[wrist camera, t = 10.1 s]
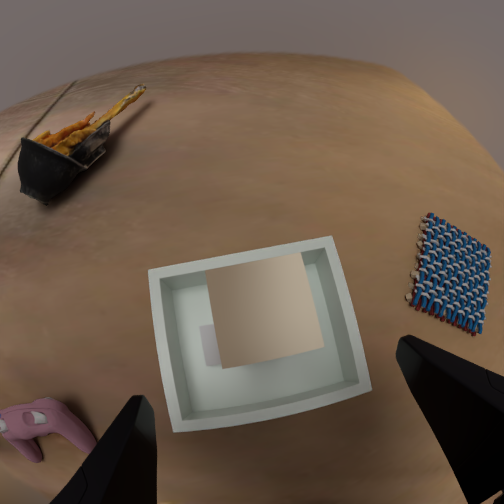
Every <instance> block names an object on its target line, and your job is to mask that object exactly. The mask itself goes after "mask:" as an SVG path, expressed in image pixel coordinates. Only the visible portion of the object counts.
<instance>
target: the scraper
mask: <svg viewBox="0 0 504 504" xmlns="http://www.w3.org/2000/svg"><path fill="white" fill-rule="evenodd" d="M205 275H206V281H207V287H208V293H209V299H210V305H211V311H212V317H213V322H214V324H209V325H203V326H199V330H200V335H201V341H202V347H203V352H204V357H205V363H206V366H212V365H218V364H221V365H222V369H226V368H232V367H238V366H243V365H248V364H253V363H258V362H263V361H268V360H273V359H277V358H282V357H286V356H291V355H295V354H299V353H303V352H307V351H311V350H315V349H319V348H322V347H325V346H324V342H323V337H322V333H321V329H320V325H319V321H318V317H317V313H316V309H315V305H314V301H313V297H312V293H311V289H310V285H309V281H308V278H307V274H306V270H305V266H304V263H303V259H302V255H301V252H299V253H294V254H289V255H284V256H278V257H273V258H268V259H263V260H258V261H252V262H247V263H242V264H237V265H231V266H226V267H221V268H215V269H210V270H205Z"/></svg>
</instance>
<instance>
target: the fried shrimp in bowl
mask: <svg viewBox="0 0 504 504" xmlns="http://www.w3.org/2000/svg"><path fill="white" fill-rule="evenodd" d="M145 90H146V87H145V85H144V84H140V85H138V86H136V87H135V88H134V90H133V91H132V92H130V93H129V94H128V95H127V96H125V97H124V98H123V99H122V100H121V101H119V102H118V103H117V104H116V105H115V106H114V107H113V108H112V109H110V110H109V111H108V112H107V113H106V114H104V115H103V116H102V117H100V118H99V120H96V121H95V122H94V123H93V124H92V125H90V123H89V121H90V119H91V118H92V117H93V116H94V113H95V111H94V112H92V113H91V114H89V115H88V116H87V117H86V118H85V119H84V120H82V121H79V122H77V123H75V124H73V125H70V126H68V127H66V128H63V129H62V130H61V131H60V132H58V133H56V134H51V135H50V131H49V130H48V131H45V132H44V133H42V134H40V135H39V136H37V137H36V138H35V139H33V140H30V139H27V138H24V137H23V138H21V144H22V147H21V151H20V155H19V160H18V173H19V177H20V181H21V189H20V192H21V193H24V194H26V195H28V196H29V197H30V198H33V199H36V200H38V201H40V202H42V203H43V204H44V205H46V206H47V205H48V203H49V201H50V199H51V198H53V197H54V196H55V195H57V194H58V193H60V192H62V191H63V190H65V189H66V188H67V187H68V186H69V184H70V183H71V182H72V180H73V179H74V178H75V176H76V175H77V173H79V172H81V171H84V170H87V169H88V167H89V166H90V165H91V164H92V163H93V162H94V161H96V160H97V159H98V158H99V157H100V156H101V155H102V154H104V153H105V151H106V149H104V147H103V144H104V142H105V141H106V140H107V138H108V136H109V133H110V120H111V119H112V118H113V117H114V116H116V115H118V114H119V113H120V112H122V111H123V110H124V109H125V108H126V107H127V106H128V105H129V104H131V103H133V102H135V101H136V100H137V99H138V98H139V97H140V96H141V95H142V94H143V93H144V91H145Z"/></svg>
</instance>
